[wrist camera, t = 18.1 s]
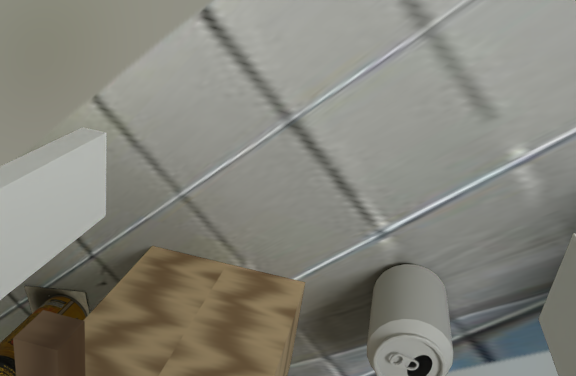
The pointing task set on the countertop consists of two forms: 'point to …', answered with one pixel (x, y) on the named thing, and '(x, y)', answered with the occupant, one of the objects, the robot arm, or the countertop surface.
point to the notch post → (193, 320)
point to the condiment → (59, 301)
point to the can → (409, 324)
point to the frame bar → (50, 346)
